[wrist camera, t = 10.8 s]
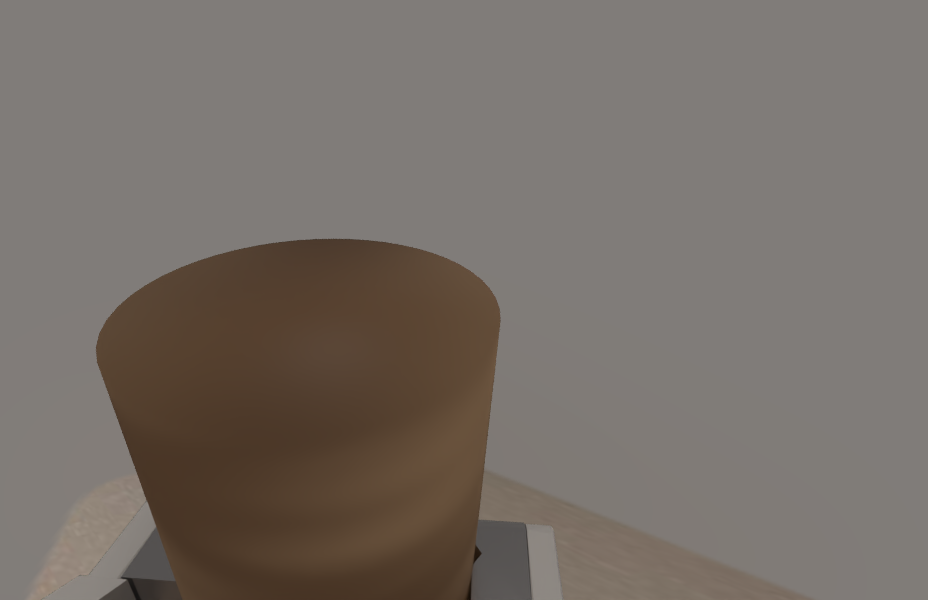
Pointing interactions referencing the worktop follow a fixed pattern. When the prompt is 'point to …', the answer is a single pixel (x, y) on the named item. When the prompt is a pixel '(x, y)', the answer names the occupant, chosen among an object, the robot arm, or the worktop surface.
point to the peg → (309, 419)
